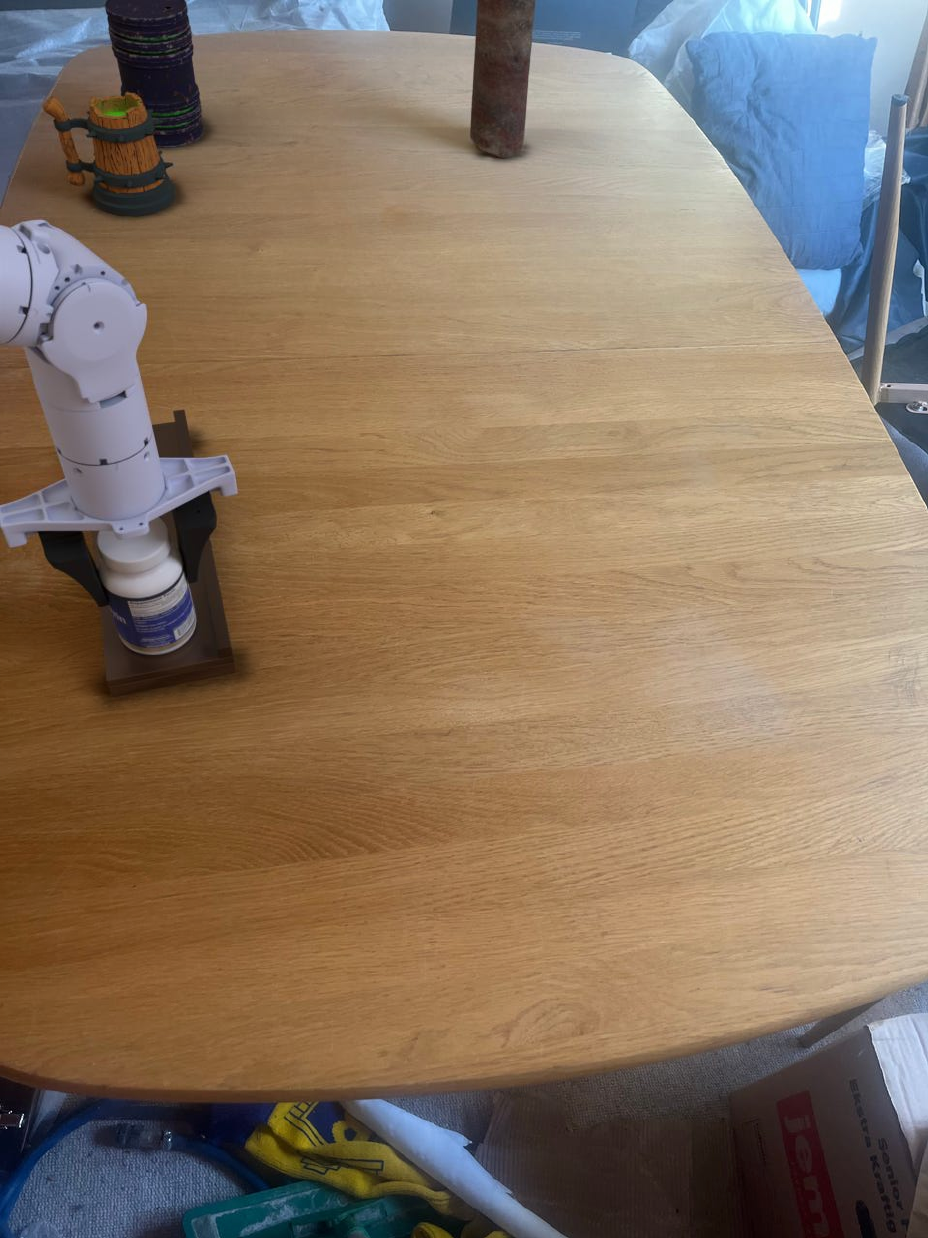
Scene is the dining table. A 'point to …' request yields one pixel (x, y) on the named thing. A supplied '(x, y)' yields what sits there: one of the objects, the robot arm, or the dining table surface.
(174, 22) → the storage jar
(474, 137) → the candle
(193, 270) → the dining table surface
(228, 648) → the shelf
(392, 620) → the dining table surface
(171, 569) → the pill bottle
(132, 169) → the mug
